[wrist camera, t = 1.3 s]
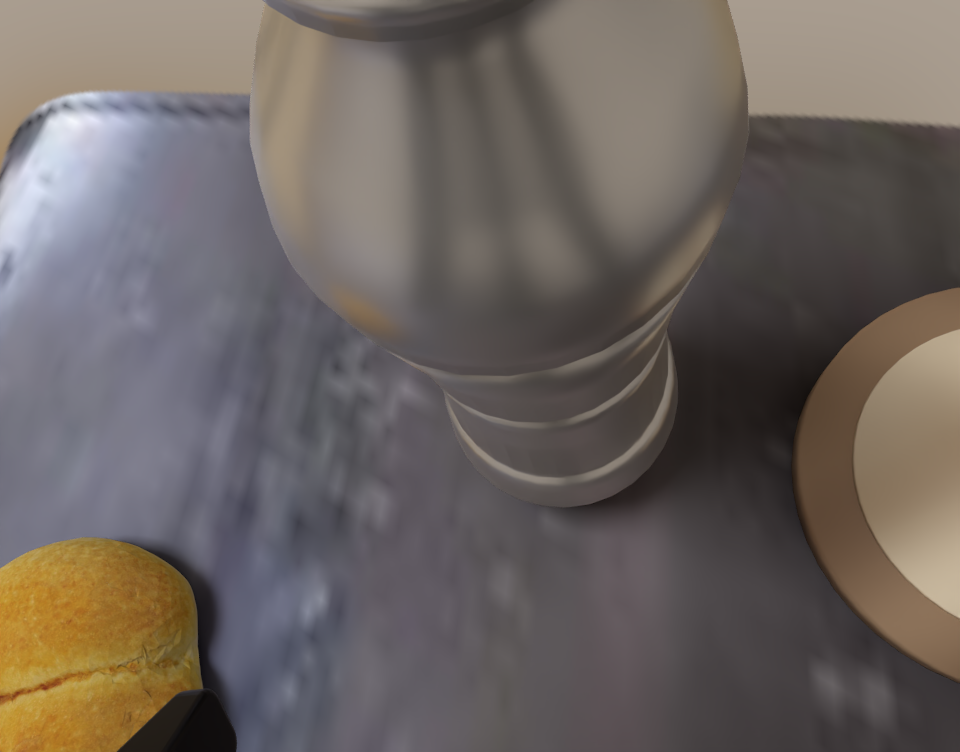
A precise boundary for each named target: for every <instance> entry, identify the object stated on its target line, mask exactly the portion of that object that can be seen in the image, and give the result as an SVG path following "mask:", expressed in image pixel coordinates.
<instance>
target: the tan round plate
mask: <svg viewBox="0 0 960 752" xmlns="http://www.w3.org/2000/svg"><path fill="white" fill-rule="evenodd" d="M791 467H792V483H793V493H794V498H795V503H796V508H797V513H798V517H799V520H800V523H801V526H802V529H803V532H804V535H805V537H806V540H807V543H808V545H809V547H810V549H811V551H812V553H813V555H814V557H815V559H816V561H817V563H818V565H819V567H820V568H821V570H822V571H823V573H824V574H825V576H826V577H827V579H828V581H829V582H830V584H831V585H832V587H833V588H834V590H835V591H836V592H837V593H838V595H839V596H840V597H841V598H842V599H843V601H844V602H845V603H846V604H847V605H848V607H849V608H850V609H851V610H852V611H853V613H854V614H856V615H857V616H858V617H859V618H860V619H861V620H862V621H863V622H864V623H865V624H866V625H867V626H868V627H869V628H870V629H871V630H872V631H873V632H874V633H875V634H877V635H878V636H879V637H881V638H882V639H883V640H885V641H886V642H887V643H888V644H890V645H891V646H892V647H894V648H895V649H896V650H898V651H899V652H900V653H902V654H904V655H905V656H907V657H909V658H910V659H912V660H914V661H915V662H917V663H919V664H920V665H922V666H924V667H925V668H927V669H929V670H931V671H933V672H935V673H938V674H940V675H942V676H944V677H946V678H949V679H951V680H953V681H955V682H957V683H960V288H953V289H949V290H945V291H941V292H937V293H932V294H928V295H925V296H923V297H920V298H917V299H915V300H912V301H909V302H907V303H904V304H902V305H900V306H898V307H896V308H894V309H893V310H891V311H889V312H887V313H885V314H883V315H881V316H880V317H878V318H877V319H876V320H874V321H873V322H871V323H870V324H869V325H867V326H866V327H864V328H863V329H862V330H860V331H859V332H858V333H857V334H856V335H855V336H854V337H853V338H852V339H851V340H850V341H849V342H848V343H847V344H846V345H845V346H844V347H843V348H842V349H841V350H840V351H839V353H838V354H837V355H836V356H835V358H834V359H833V360H832V361H831V363H830V364H829V365H828V366H827V368H826V369H825V370H824V371H823V373H822V374H821V375H820V377H819V378H818V379H817V381H816V383H815V385H814V386H813V388H812V390H811V392H810V393H809V395H808V397H807V399H806V401H805V404H804V407H803V409H802V412H801V414H800V417H799V419H798V424H797V428H796V433H795V437H794V441H793V453H792V465H791Z"/></svg>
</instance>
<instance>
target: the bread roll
mask: <svg viewBox="0 0 960 752" xmlns="http://www.w3.org/2000/svg"><path fill="white" fill-rule="evenodd" d="M197 689H203V685H202V679H201V671H200V664H199V652H198V620H197V607H196V602H195V598H194V593H193V591H192V588H191V586H190V584H189V582H188V581H187V580H186V578H185V577H184V576H183V575H182V574H181V573H180V572H179V571H177V570H176V569H175V568H174V567H172V566H171V565H170V564H168V563H167V562H165V561H164V560H162V559H161V558H159V557H157V556H156V555H154V554H152V553H150V552H148V551H146V550H144V549H142V548H140V547H138V546H135V545H132V544H129V543H125V542H121V541H116V540H111V539H105V538H97V537H82V538H77V539H71V540H66V541H61V542H56V543H53V544H50V545H46V546H43V547H40V548H37V549H35V550H32V551H29V552H27V553H25V554H23V555H22V556H20V557H18V558H16V559H14V560H13V561H11V562H10V563H8V564H7V565H5V566H3V567H2V568H0V752H116V751H117V750H118V749H120V748H121V747H122V746H123V745H124V744H125V743H126V742H127V741H128V740H129V739H130V738H131V737H132V736H133V735H134V734H135V733H136V732H137V731H138V730H139V729H140V728H141V727H142V726H143V725H145V724H146V723H147V722H148V721H149V720H150V719H151V718H152V717H153V716H154V715H155V714H156V713H157V712H158V711H159V710H160V709H161V708H162V707H163V706H164V705H165V704H166V703H167V702H168V701H170V700H171V699H172V698H173V697H174V696H175V695H176V694H178V693H180V692H182V691H187V690H197Z"/></svg>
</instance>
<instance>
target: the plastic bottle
mask: <svg viewBox="0 0 960 752" xmlns="http://www.w3.org/2000/svg"><path fill="white" fill-rule="evenodd" d="M263 1H264V2H265V5H264V8H263V13H262V18H261V23H260V27H259V32H258V37H257V42H256V50H255V59H254V69H253V78H252V87H251V88H252V89H251V97H250V145H251V149H252V154H253V158H254V162H255V166H256V171H257V175H258V179H259V183H260V187H261V190H262V193H263V197H264V200H265V203H266V207H267V210H268V213H269V216H270V220H271V223H272V226H273V229H274V231H275V233H276V235H277V237H278V239H279V241H280V243H281V245H282V247H283V249H284V251H285V253H286V255H287V257H288V259H289V262H290V264H291V265H292V267H293V268H294V269H295V270H296V271H297V273H298V274H299V275H300V276H301V278H302V279H303V280H304V281H305V282H306V284H307V285H308V286H309V287H310V289H311V290H312V291H313V292H314V293H315V295H316V296H317V297H318V298H319V299H320V300H321V301H322V302H324V303H325V304H326V305H327V306H329V307H330V308H331V309H332V310H334V311H335V312H336V313H337V314H338V315H339V316H340V317H341V318H343V319H344V320H345V321H346V322H347V323H349V324H350V325H351V326H353V327H354V328H355V329H356V330H358V331H359V332H360V333H362V334H363V335H364V336H366V337H367V338H368V339H369V340H371V341H372V342H373V343H375V344H376V345H377V346H379V347H381V348H383V349H385V350H387V351H388V352H390V353H391V354H393V355H395V356H396V357H398V358H400V359H401V360H403V361H405V362H406V363H408V364H410V365H412V366H413V367H415V368H417V369H418V370H420V371H422V372H423V373H425V374H427V375H428V376H429V377H430V378H431V379H432V380H433V381H434V382H435V383H436V384H437V385H438V386H439V387H440V388H442V390H443V392H444V394H445V403H446V407H447V410H448V413H449V416H450V420H451V423H452V426H453V429H454V432H455V435H456V438H457V440H458V442H459V444H460V446H461V447H462V449H463V451H464V453H465V455H466V457H467V458H468V460H469V461H470V462H471V463H472V464H473V466H474V467H475V468H476V469H477V470H478V472H479V473H480V474H481V475H482V476H483V477H484V478H486V479H487V480H488V481H489V482H491V483H492V484H493V485H494V486H496V487H497V488H498V489H499V490H501V491H503V492H505V493H507V494H509V495H511V496H513V497H515V498H517V499H519V500H522V501H526V502H529V503H533V504H537V505H540V506H548V507H564V508H567V507H574V506H581V505H588V504H592V503H595V502H597V501H600V500H603V499H606V498H608V497H611V496H613V495H615V494H617V493H618V492H620V491H621V490H623V489H625V488H626V487H628V486H630V485H631V484H633V483H634V482H635V481H636V480H637V479H638V478H639V477H640V476H641V475H642V474H643V473H644V472H646V471H647V470H648V469H649V468H650V467H651V465H652V464H653V462H654V461H655V460H656V458H657V457H658V455H659V454H660V452H661V451H662V450H663V448H664V446H665V444H666V442H667V439H668V437H669V435H670V432H671V430H672V428H673V425H674V420H675V415H676V410H677V405H678V377H677V371H676V365H675V361H674V356H673V351H672V346H671V342H670V340H669V337H668V335H667V328H668V326H669V323H670V320H671V316H672V313H673V310H674V308H675V306H676V305H677V303H678V301H679V300H680V298H681V296H682V295H683V293H684V291H685V290H686V288H687V286H688V285H689V283H690V281H691V280H692V278H693V276H694V275H695V273H696V271H697V270H698V268H699V266H700V265H701V263H702V261H703V260H704V259H705V257H706V256H707V254H708V252H709V249H710V247H711V245H712V243H713V240H714V238H715V236H716V234H717V231H718V229H719V227H720V225H721V222H722V220H723V218H724V216H725V213H726V211H727V208H728V205H729V203H730V200H731V198H732V195H733V193H734V190H735V188H736V186H737V183H738V181H739V179H740V175H741V170H742V165H743V160H744V155H745V150H746V145H747V140H748V135H749V117H748V89H747V83H746V77H745V73H744V67H743V62H742V57H741V52H740V47H739V43H738V37H737V34H736V30H735V26H734V23H733V19H732V16H731V12H730V8H729V5H728V1H727V0H263Z"/></svg>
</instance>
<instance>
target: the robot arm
mask: <svg viewBox="0 0 960 752" xmlns="http://www.w3.org/2000/svg"><path fill="white" fill-rule="evenodd" d="M236 749H237V740H236V734H235V730H234V728H233V726H232V724H231V722H230V720H229V718H228V716H227V714H226V712H225V710H224V708H223V706H222V704H221V702H220V700H219V698H218V696H217V694H216V693H215V692H214V691H213V690H211V689H207V688H206V689H197V690H187V691H182V692H180V693H178V694H176V695H175V696H174V697H173V698H172V699H171V700H170V701H168V702H167V703H166V704H165V705H164V706H163V707H162V708H161V709H160V710H159V711H158V712H157V713H156V714H155V715H154V716H153V717H152V718H151V719H150V720H149V721H148V722H147V723H146V724H145V725H143V726H142V727H141V728H140V729H139V730H138V731H137V732H136V733H135V734H134V735H133V736H132V737H131V738H130V739H129V740H128V741H127V742H126V743H125V744H124V745H123V746H122V747H121V748H120V749H118V750H117V751H116V752H236Z"/></svg>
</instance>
